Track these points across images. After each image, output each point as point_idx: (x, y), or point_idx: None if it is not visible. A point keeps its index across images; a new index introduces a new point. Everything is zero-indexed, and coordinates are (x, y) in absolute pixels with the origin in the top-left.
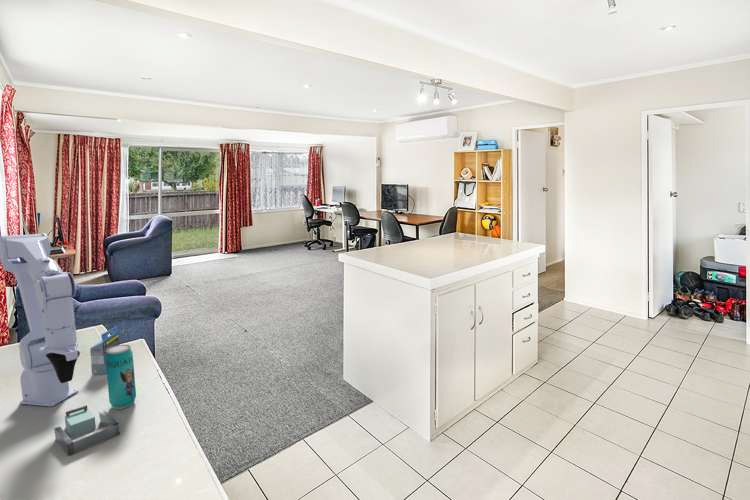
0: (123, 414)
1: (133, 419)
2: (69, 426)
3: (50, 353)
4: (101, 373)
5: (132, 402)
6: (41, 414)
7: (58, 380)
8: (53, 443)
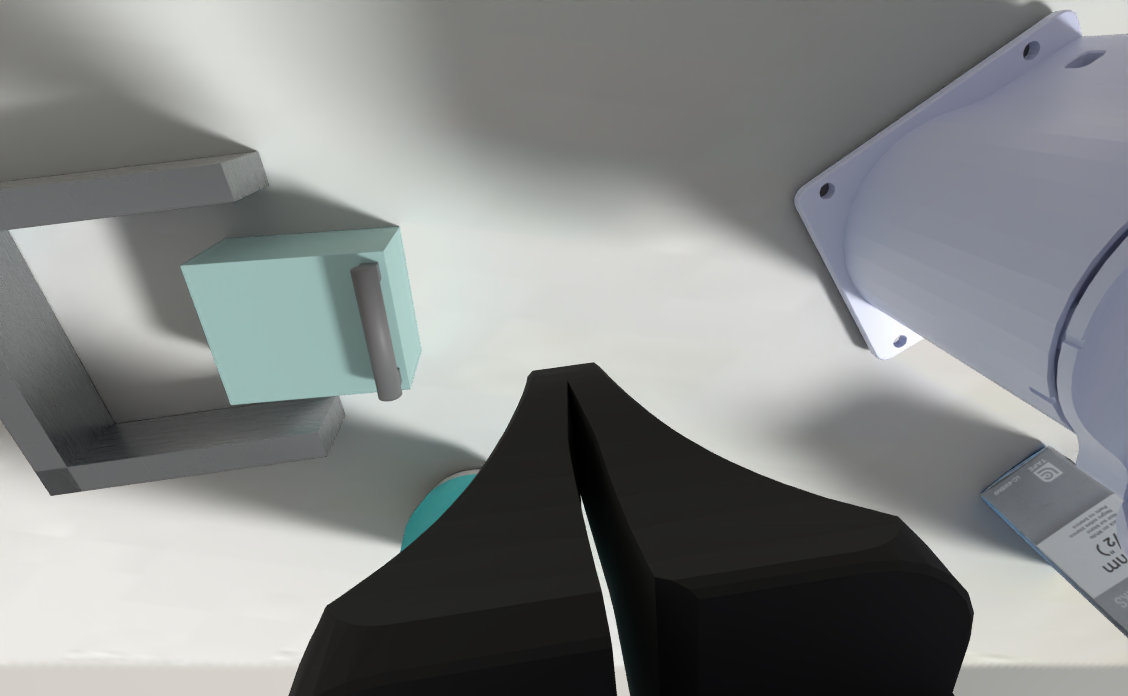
0: (351, 493)
1: (251, 520)
2: (243, 253)
3: (924, 647)
4: (1000, 486)
5: None
6: (732, 122)
7: (946, 313)
8: (199, 131)
